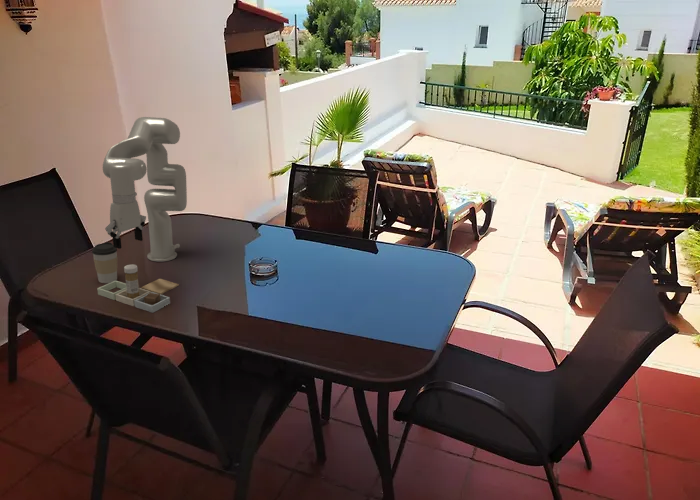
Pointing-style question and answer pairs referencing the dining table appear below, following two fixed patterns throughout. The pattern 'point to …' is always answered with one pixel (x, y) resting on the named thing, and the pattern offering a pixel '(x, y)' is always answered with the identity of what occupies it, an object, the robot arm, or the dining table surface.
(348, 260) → the dining table surface
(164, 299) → the tray blue
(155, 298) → the walnut cube
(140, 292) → the tray cream
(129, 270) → the sprinkles bottle
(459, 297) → the dining table surface
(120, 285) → the tray sage
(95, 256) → the coffee cup
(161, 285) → the coaster
